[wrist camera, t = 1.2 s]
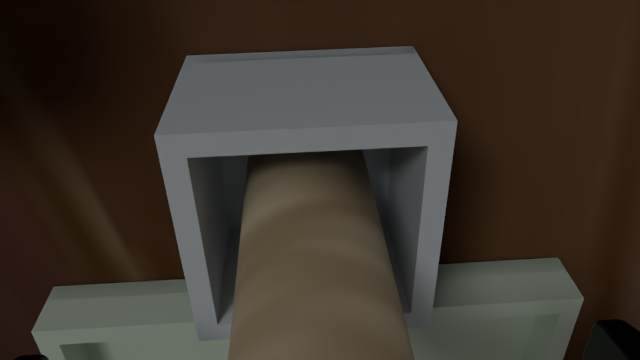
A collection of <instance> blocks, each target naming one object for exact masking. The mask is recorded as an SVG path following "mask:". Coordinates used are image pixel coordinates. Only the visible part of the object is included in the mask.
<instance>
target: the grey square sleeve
mask: <svg viewBox="0 0 640 360" xmlns="http://www.w3.org/2000/svg"><path fill="white" fill-rule="evenodd" d="M456 129H457V119H456V118H455V116H454V114H453V113H452V111H451V109H450V107H449V106H448V104H447V102H446V101H445V99H444V97H443V96H442V94H441V92H440V91H439V89H438V87H437V86H436V84H435V82H434V81H433V79H432V77H431V76H430V74H429V72H428V70H427V69H426V67H425V65H424V64H423V62H422V60H421V59H420V57H419V55H418V54H417V52H416V50H415V49H414V47H413V46H404V47H380V48H357V49H333V50H309V51H286V52H262V53H238V54H215V55H191V56H186V59H185V61H184V64H183V66H182V68H181V71H180V73H179V76H178V78H177V81H176V83H175V86H174V88H173V91H172V93H171V95H170V98H169V100H168V103H167V105H166V108H165V110H164V113H163V115H162V117H161V120H160V122H159V125H158V127H157V130H156V132H155V135H154V137H155V142H156V146H157V151H158V155H159V160H160V165H161V169H162V174H163V178H164V183H165V188H166V192H167V197H168V201H169V206H170V211H171V215H172V220H173V224H174V229H175V234H176V238H177V243H178V247H179V252H180V257H181V261H182V266H183V270H184V275H185V280H186V284H187V289H188V293H189V298H190V302H191V307H192V312H193V316H194V321H195V325H196V330H197V335H198V339H199V341H207V340H223V339H230V334H231V324H232V314H233V304H234V294H235V284H236V274H237V264H238V254H239V244H240V233H241V223H242V213H243V203H244V193H245V183H246V173H247V163H248V155H256V154H277V153H297V152H317V151H337V150H357V149H362V150H363V154H364V158H365V162H366V166H367V170H368V174H369V178H370V182H371V186H372V190H373V194H374V198H375V202H376V206H377V210H378V214H379V218H380V222H381V226H382V230H383V234H384V238H385V242H386V246H387V250H388V254H389V258H390V262H391V266H392V270H393V274H394V278H395V282H396V286H397V290H398V294H399V298H400V302H401V306H402V310H403V314H404V318H405V322H406V326H407V328H415V327H430V325H431V317H432V310H433V302H434V295H435V287H436V280H437V272H438V264H439V257H440V249H441V242H442V234H443V227H444V219H445V212H446V204H447V197H448V189H449V181H450V174H451V166H452V159H453V151H454V144H455V136H456Z"/></svg>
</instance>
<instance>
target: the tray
mask: <svg viewBox="0 0 640 360" xmlns="http://www.w3.org/2000/svg"><path fill="white" fill-rule="evenodd" d="M583 300H584V297H583V296H582V294H581V293H580V291H579V290H578V288H577V287H576V285H575V283H574V282H573V280H572V279H571V277H570V276H569V274H568V272H567V271H566V269H565V268H564V266H563V265H562V263H561V261H560V260H559V258H541V259H523V260H506V261H489V262H471V263H454V264H438V272H437V280H436V287H435V295H434V302H433V310H432V317H431V325H430V327H415V328H407V330H408V334H409V338H410V342H411V346H412V350H413V354H414V358H415V360H563V358H564V355H565V352H566V349H567V346H568V343H569V340H570V337H571V334H572V332H573V329H574V326H575V323H576V320H577V317H578V314H579V311H580V309H581V306H582V303H583ZM32 335H33V337H34V339H35V341H36V343H37V345H38V347H39V350H40V352H41V354H42V355H45V356H46V357H48V359H49V360H228V354H229V344H230V339H223V340H207V341H199V339H198V335H197V330H196V325H195V321H194V316H193V312H192V307H191V302H190V298H189V293H188V289H187V284H186V280H185V279H178V280H161V281H143V282H126V283H109V284H91V285H74V286H57V287H53V289H52V291H51V293H50V295H49V297H48V299H47V301H46V303H45V305H44V307H43V309H42V311H41V313H40V315H39V317H38V319H37V322H36V324H35V326H34V328H33V330H32Z"/></svg>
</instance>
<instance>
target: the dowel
mask: <svg viewBox="0 0 640 360" xmlns="http://www.w3.org/2000/svg"><path fill="white" fill-rule="evenodd" d="M228 360H415V358H414V354H413V350H412V346H411V342H410V338H409V334H408V330H407V326H406V322H405V318H404V314H403V310H402V306H401V302H400V298H399V294H398V290H397V286H396V282H395V278H394V274H393V270H392V266H391V262H390V258H389V254H388V250H387V246H386V242H385V238H384V234H383V230H382V226H381V222H380V218H379V214H378V210H377V206H376V202H375V198H374V194H373V190H372V186H371V182H370V178H369V174H368V170H367V166H366V162H365V158H364V154H363V150H362V149H357V150H337V151H317V152H297V153H277V154H256V155H248V163H247V173H246V183H245V193H244V203H243V213H242V223H241V233H240V244H239V254H238V264H237V274H236V284H235V294H234V304H233V314H232V324H231V334H230V344H229V354H228Z"/></svg>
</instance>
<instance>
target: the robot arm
mask: <svg viewBox="0 0 640 360" xmlns="http://www.w3.org/2000/svg"><path fill="white" fill-rule="evenodd" d="M14 360H49V359H48V357H46V356H45V355H42V354H38V355H23V356H19V357H17V358H16V359H14ZM583 360H640V332H639V331H638V330H637V329H635V328H634V327H632V326H631V325H630V324H628V323H627V322H625V321H623V320H619V319H613V320H599V321H597V322H596V323H594V325H593V327H592V330H591V332H590V335H589V338H588V340H587V343H586V346H585V348H584V351H583Z"/></svg>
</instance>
